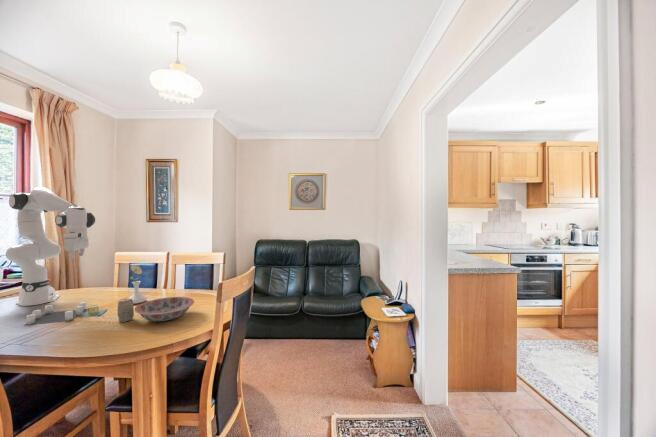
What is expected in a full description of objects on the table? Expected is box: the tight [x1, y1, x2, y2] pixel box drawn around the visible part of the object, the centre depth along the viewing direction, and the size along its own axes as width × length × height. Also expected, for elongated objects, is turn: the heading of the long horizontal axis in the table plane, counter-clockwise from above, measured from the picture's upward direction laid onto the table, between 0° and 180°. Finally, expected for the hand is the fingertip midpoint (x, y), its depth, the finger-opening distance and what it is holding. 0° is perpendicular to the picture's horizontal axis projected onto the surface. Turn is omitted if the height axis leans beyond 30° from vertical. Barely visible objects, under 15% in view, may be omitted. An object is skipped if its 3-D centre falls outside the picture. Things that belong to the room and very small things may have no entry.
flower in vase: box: [128, 264, 147, 305], centre depth 185 cm, size 13×11×25 cm
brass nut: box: [87, 304, 100, 315], centre depth 163 cm, size 5×5×4 cm
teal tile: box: [78, 309, 108, 318], centre depth 163 cm, size 10×10×1 cm
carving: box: [116, 297, 135, 323], centre depth 154 cm, size 6×8×12 cm
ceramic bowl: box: [134, 296, 195, 322], centre depth 158 cm, size 29×29×8 cm
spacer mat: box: [23, 301, 88, 327], centre depth 158 cm, size 20×22×5 cm
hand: (77, 256), depth 166 cm, fingers open, 8 cm apart
